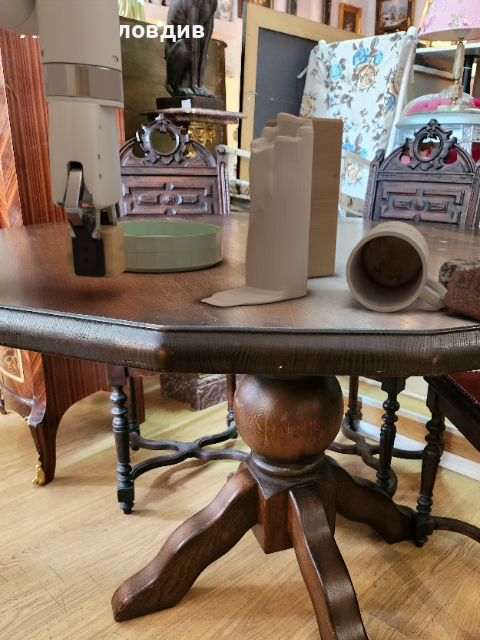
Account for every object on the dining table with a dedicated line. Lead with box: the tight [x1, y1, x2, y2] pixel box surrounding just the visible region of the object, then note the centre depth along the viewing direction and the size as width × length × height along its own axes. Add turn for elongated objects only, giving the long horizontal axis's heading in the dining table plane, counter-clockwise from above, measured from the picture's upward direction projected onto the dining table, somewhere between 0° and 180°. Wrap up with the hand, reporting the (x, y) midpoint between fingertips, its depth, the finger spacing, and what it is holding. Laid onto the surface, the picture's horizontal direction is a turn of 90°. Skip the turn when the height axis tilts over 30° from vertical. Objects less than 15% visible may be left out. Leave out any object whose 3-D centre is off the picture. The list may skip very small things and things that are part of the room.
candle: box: [200, 112, 314, 307], centre depth 62 cm, size 7×14×20 cm, turn 133°
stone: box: [444, 267, 480, 321], centre depth 59 cm, size 7×7×3 cm
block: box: [64, 225, 126, 279], centre depth 62 cm, size 5×5×5 cm
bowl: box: [116, 220, 224, 273], centre depth 84 cm, size 19×19×5 cm
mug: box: [345, 220, 447, 313], centre depth 64 cm, size 12×9×10 cm
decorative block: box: [265, 116, 344, 279], centre depth 78 cm, size 11×6×20 cm, turn 31°
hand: (98, 268), depth 63 cm, fingers closed on block, 5 cm apart
